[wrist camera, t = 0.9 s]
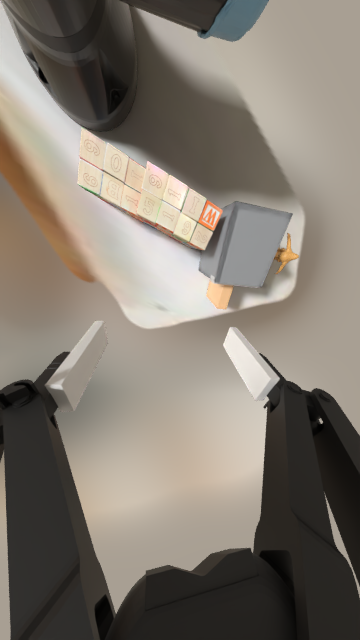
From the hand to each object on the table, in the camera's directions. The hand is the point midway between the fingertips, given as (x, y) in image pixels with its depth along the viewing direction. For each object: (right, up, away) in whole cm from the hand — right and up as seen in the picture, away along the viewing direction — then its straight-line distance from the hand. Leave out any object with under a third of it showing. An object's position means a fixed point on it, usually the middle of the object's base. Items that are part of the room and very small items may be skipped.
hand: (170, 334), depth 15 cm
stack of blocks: (-4, +26, +15) cm, 30 cm away
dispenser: (+12, +20, +20) cm, 31 cm away
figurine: (+23, +20, +23) cm, 38 cm away
